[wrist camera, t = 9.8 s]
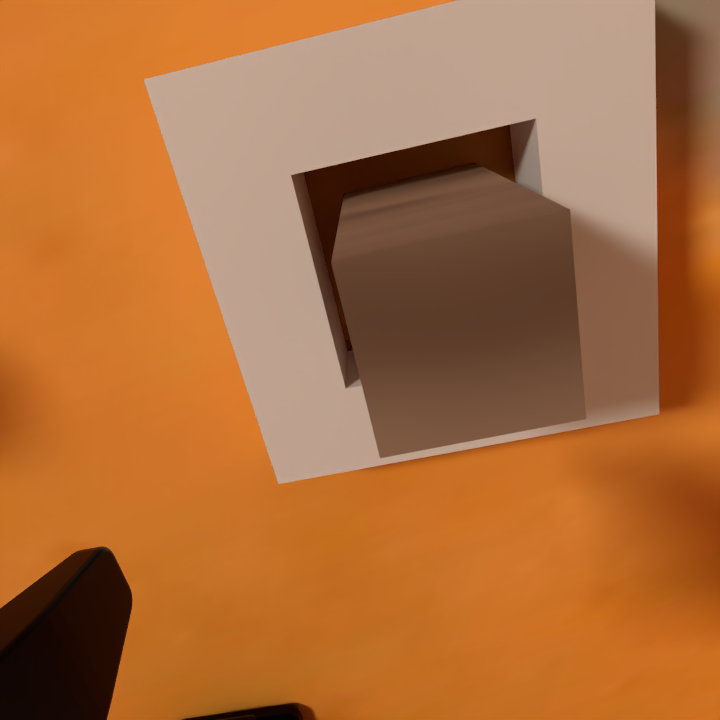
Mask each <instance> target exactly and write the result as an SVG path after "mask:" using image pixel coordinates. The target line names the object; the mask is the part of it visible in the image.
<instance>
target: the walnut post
mask: <svg viewBox="0 0 720 720" xmlns="http://www.w3.org/2000/svg"><path fill="white" fill-rule="evenodd" d="M331 264H332V268H333V272H334V276H335V280H336V284H337V288H338V292H339V296H340V300H341V304H342V308H343V312H344V316H345V320H346V324H347V328H348V332H349V336H350V340H351V344H352V348H353V352H354V356H355V360H356V364H357V368H358V372H359V376H360V380H361V384H362V388H363V392H364V396H365V400H366V404H367V408H368V412H369V416H370V420H371V424H372V428H373V432H374V436H375V440H376V444H377V448H378V452H379V456H380V458H385V457H390V456H395V455H400V454H406V453H411V452H416V451H421V450H427V449H432V448H437V447H442V446H448V445H453V444H458V443H463V442H469V441H474V440H479V439H485V438H490V437H495V436H500V435H506V434H511V433H516V432H521V431H527V430H532V429H537V428H542V427H548V426H553V425H558V424H564V423H569V422H574V421H579V420H585V419H586V410H585V397H584V384H583V371H582V359H581V346H580V333H579V320H578V307H577V294H576V281H575V268H574V255H573V242H572V229H571V216H570V209H568V208H566V207H564V206H562V205H560V204H558V203H556V202H554V201H552V200H550V199H548V198H546V197H544V196H542V195H539V194H537V193H535V192H533V191H531V190H529V189H527V188H525V187H523V186H521V185H519V184H517V183H515V182H513V181H511V180H509V179H507V178H505V177H503V176H501V175H499V174H497V173H495V172H493V171H491V170H489V169H486V168H484V167H482V166H480V165H478V164H476V163H471V164H466V165H462V166H458V167H454V168H449V169H445V170H441V171H437V172H432V173H428V174H424V175H419V176H415V177H411V178H407V179H402V180H398V181H394V182H389V183H385V184H381V185H377V186H372V187H368V188H364V189H359V190H355V191H351V192H347V193H344V197H343V203H342V208H341V213H340V218H339V224H338V229H337V234H336V239H335V245H334V250H333V255H332V261H331Z"/></svg>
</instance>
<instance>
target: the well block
mask: <svg viewBox="0 0 720 720" xmlns="http://www.w3.org/2000/svg"><path fill="white" fill-rule="evenodd" d="M144 82H145V85H146V88H147V91H148V94H149V97H150V100H151V103H152V106H153V109H154V112H155V115H156V118H157V121H158V124H159V127H160V130H161V133H162V136H163V139H164V142H165V145H166V148H167V151H168V154H169V157H170V160H171V163H172V166H173V169H174V172H175V175H176V178H177V181H178V184H179V187H180V190H181V193H182V196H183V199H184V202H185V205H186V208H187V211H188V214H189V217H190V220H191V223H192V226H193V229H194V232H195V235H196V238H197V241H198V244H199V247H200V250H201V253H202V256H203V259H204V262H205V265H206V268H207V271H208V274H209V277H210V280H211V283H212V286H213V289H214V292H215V295H216V298H217V301H218V304H219V307H220V310H221V313H222V316H223V319H224V322H225V325H226V328H227V331H228V334H229V337H230V340H231V343H232V346H233V349H234V352H235V355H236V358H237V361H238V364H239V367H240V370H241V373H242V376H243V379H244V382H245V385H246V388H247V391H248V394H249V397H250V400H251V403H252V406H253V409H254V412H255V415H256V418H257V421H258V424H259V427H260V430H261V433H262V436H263V439H264V442H265V445H266V448H267V451H268V454H269V457H270V460H271V463H272V466H273V469H274V472H275V475H276V478H277V481H278V484H281V483H287V482H292V481H298V480H303V479H309V478H314V477H319V476H325V475H330V474H336V473H341V472H347V471H352V470H358V469H363V468H369V467H374V466H380V465H385V464H390V463H396V462H401V461H407V460H412V459H418V458H423V457H429V456H434V455H440V454H445V453H451V452H456V451H461V450H467V449H472V448H478V447H483V446H489V445H494V444H500V443H505V442H511V441H516V440H521V439H527V438H532V437H538V436H543V435H549V434H554V433H560V432H565V431H571V430H576V429H582V428H587V427H592V426H598V425H603V424H609V423H614V422H620V421H625V420H631V419H636V418H642V417H647V416H653V415H658V414H659V336H658V244H657V151H656V58H655V0H457V1H453V2H449V3H445V4H441V5H437V6H433V7H429V8H425V9H421V10H417V11H413V12H409V13H405V14H401V15H397V16H393V17H389V18H385V19H381V20H378V21H374V22H370V23H366V24H362V25H358V26H354V27H350V28H346V29H342V30H338V31H334V32H330V33H326V34H322V35H318V36H314V37H310V38H306V39H302V40H298V41H294V42H290V43H286V44H282V45H278V46H274V47H270V48H266V49H263V50H259V51H255V52H251V53H247V54H243V55H239V56H235V57H231V58H227V59H223V60H219V61H215V62H211V63H207V64H203V65H199V66H195V67H191V68H187V69H183V70H179V71H175V72H171V73H167V74H163V75H159V76H155V77H151V78H147V79H144ZM505 125H510V134H511V144H512V153H513V162H514V172H515V181H516V183H517V184H519V185H521V186H523V187H525V188H527V189H529V190H531V191H533V192H535V193H537V194H539V195H542V196H544V197H546V198H548V199H550V200H552V201H554V202H556V203H558V204H560V205H562V206H564V207H566V208H568V209H570V216H571V229H572V242H573V255H574V268H575V281H576V294H577V307H578V320H579V333H580V346H581V359H582V371H583V384H584V397H585V410H586V419H585V420H579V421H574V422H569V423H564V424H558V425H553V426H548V427H542V428H537V429H532V430H527V431H521V432H516V433H511V434H506V435H500V436H495V437H490V438H485V439H479V440H474V441H469V442H463V443H458V444H453V445H448V446H442V447H437V448H432V449H427V450H421V451H416V452H411V453H406V454H400V455H395V456H390V457H385V458H380V456H379V452H378V448H377V444H376V440H375V436H374V432H373V428H372V424H371V420H370V416H369V412H368V408H367V404H366V400H365V396H364V392H363V388H362V384H361V380H360V376H359V372H358V368H357V364H356V360H355V356H354V352H353V350H351V351H347V346H346V342H345V338H344V334H343V330H342V326H341V322H340V318H339V314H338V310H337V306H336V302H335V298H334V294H333V290H332V286H331V282H330V278H329V274H328V270H327V266H326V262H325V257H324V253H323V249H322V245H321V241H320V237H319V233H318V229H317V225H316V221H315V217H314V213H313V209H312V205H311V201H310V197H309V193H308V189H307V185H306V181H305V177H304V173H303V172H307V171H311V170H315V169H319V168H324V167H328V166H332V165H337V164H341V163H345V162H350V161H354V160H358V159H363V158H367V157H371V156H376V155H380V154H384V153H389V152H393V151H397V150H402V149H406V148H410V147H415V146H419V145H423V144H428V143H432V142H436V141H441V140H445V139H449V138H454V137H458V136H462V135H466V134H471V133H475V132H479V131H484V130H488V129H492V128H497V127H501V126H505Z"/></svg>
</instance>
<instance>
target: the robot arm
mask: <svg viewBox="0 0 720 720" xmlns="http://www.w3.org/2000/svg"><path fill="white" fill-rule="evenodd" d="M131 609H132V593H131V590H130V587H129V585H128V583H127V581H126V579H125V577H124V575H123V573H122V571H121V568H120V566H119V564H118V562H117V560H116V558H115V556H114V554H113V553H112V551H111V550H110V549H108V548H107V547H96V548H90V549H84V550H80V551H77V552H75V553H73V554H72V555H70V556H69V557H68V558H66V559H65V560H64V561H63V562H61V563H60V564H59V565H57V566H56V567H55V568H53V569H52V570H51V571H49V572H48V573H47V574H45V575H44V576H43V577H41V578H40V579H39V580H37V581H36V582H35V583H33V584H32V585H31V586H29V587H28V588H27V589H26V590H24V591H23V592H22V593H20V594H19V595H18V596H16V597H15V598H14V599H12V600H11V601H10V602H8V603H7V604H6V605H4V606H3V607H2V608H0V720H107V716H108V712H109V708H110V704H111V700H112V696H113V691H114V687H115V682H116V678H117V673H118V669H119V664H120V660H121V655H122V650H123V646H124V641H125V637H126V632H127V628H128V623H129V619H130V614H131ZM193 720H303V718H302V715H301V713H300V710H299V709H298V708H297V707H295V706H281V707H275V708H268V709H261V710H254V711H248V712H241V713H234V714H227V715H220V716H214V717H207V718H200V719H193Z"/></svg>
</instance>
